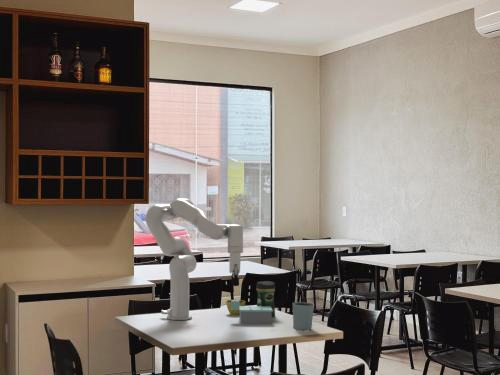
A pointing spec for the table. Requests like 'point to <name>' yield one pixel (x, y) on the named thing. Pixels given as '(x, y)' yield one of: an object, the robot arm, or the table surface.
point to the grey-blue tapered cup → (302, 315)
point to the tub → (255, 317)
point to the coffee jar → (266, 294)
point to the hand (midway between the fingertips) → (235, 284)
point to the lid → (249, 307)
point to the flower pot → (234, 312)
